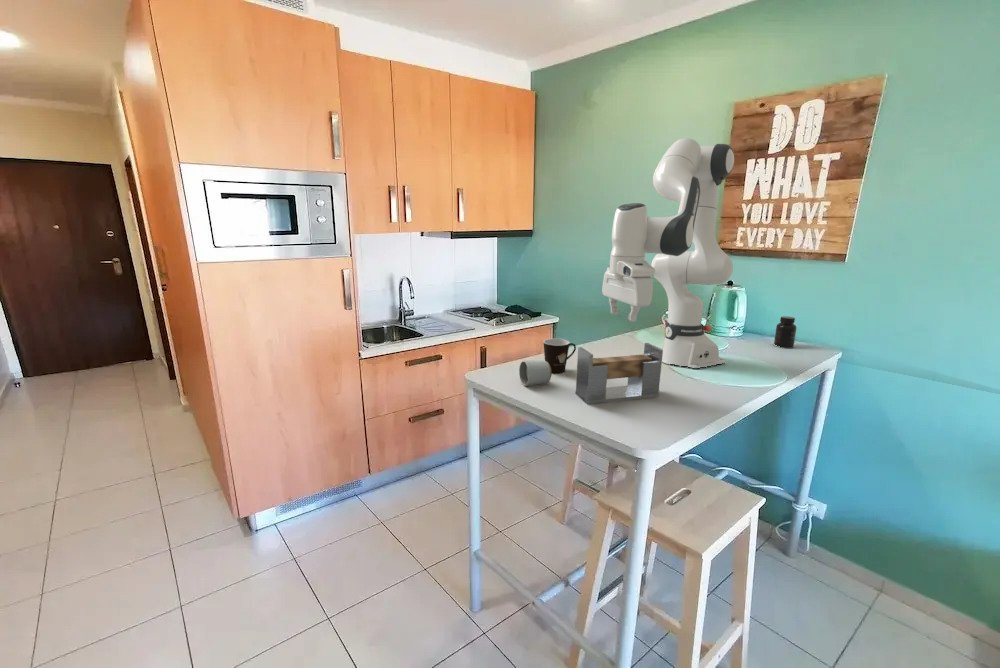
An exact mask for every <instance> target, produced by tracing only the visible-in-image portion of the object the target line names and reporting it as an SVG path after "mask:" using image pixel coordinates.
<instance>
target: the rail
mask: <svg viewBox="0 0 1000 668" xmlns="http://www.w3.org/2000/svg"><path fill="white" fill-rule="evenodd" d="M632 355H633V354H632ZM651 361H652V358H650V357H648V356H646V355H643V354H634V355H633V356H630V355H621V356H619V355H618V356H610V357H607V356H606V357H593V366H599V365H607V366H608V370H607V380H612V379H615V380H616V379H624V378H627V379H628V377H639V376H641V370H642V362H651Z"/></svg>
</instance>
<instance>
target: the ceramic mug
mask: <svg viewBox="0 0 1000 668" xmlns="http://www.w3.org/2000/svg"><path fill="white" fill-rule="evenodd" d="M518 372H519V373H518V374H519V379H520V382H521V384H522V385H523V386H524V387H528V386H537V385H545V384H547V383H550V381H551V379H552V378H551V377H552V373H551V367H550V364H549V363H548V362H547V361H545V360H542V359H541V360H537V359H536V360H522V361H521V362H520V365H519V370H518Z"/></svg>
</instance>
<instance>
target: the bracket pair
mask: <svg viewBox="0 0 1000 668" xmlns="http://www.w3.org/2000/svg"><path fill="white" fill-rule="evenodd" d="M643 346H644V347H643V354H642V355H646V356H648V357H650V358H652V361H651V362H642V370H641V376H639V377H627V385H619V386H617V385H616V386H608V387H607V382H608V381H607V380H608V379H607V370H608V366H607V365H599V366H593V358H594V354H593V353H591V352H590V351H588V350H587V349H586V348H583V347H582V346H580V347H577V363H576V365H577V366H576V381H575V383H576V384H575V393H574V394H575V395H576V396H577V397H579V399H581V400H582V402H584V403H585V404H587V405H593V404H594V405H596V404H603V403H604V404H605V403H614V402H615V403H616V402H624V401H625V402H626V401H635V400H644V399H645V400H647V399H655V398H656V397H657V398H659V396H660V394H659V392H660V382H661V374H662V373H661V371H662V364H663V362H662V355H663V350H662V348H660V347H658V346H656V345H653V344H651V343H650V342H645V343H644V345H643ZM629 356H633V354H632V355H631V354H630V355H629ZM657 398H656V399H657Z"/></svg>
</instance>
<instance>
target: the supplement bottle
mask: <svg viewBox="0 0 1000 668" xmlns="http://www.w3.org/2000/svg"><path fill="white" fill-rule="evenodd" d="M795 320H796V318H795V317H793V316H786V315H785V316H780V318H779V322H778V323H777V324H776V326H775V327H776V328H775V333H774V334H775V335H774V340H773V345H774V344H775V345H777V346H780V347H779V348H781V347H792V348H794V346H795V341H796V340H795V339H796V333H797V325H796V324H795V322H796V321H795ZM775 345H774V346H775ZM777 346H776V347H777Z"/></svg>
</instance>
